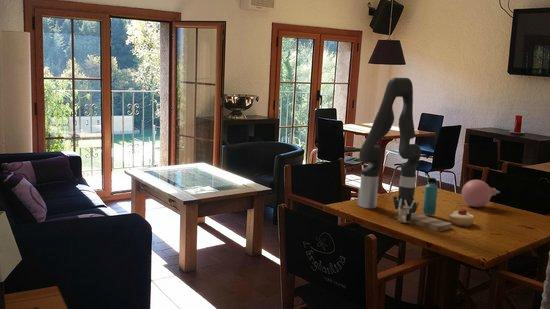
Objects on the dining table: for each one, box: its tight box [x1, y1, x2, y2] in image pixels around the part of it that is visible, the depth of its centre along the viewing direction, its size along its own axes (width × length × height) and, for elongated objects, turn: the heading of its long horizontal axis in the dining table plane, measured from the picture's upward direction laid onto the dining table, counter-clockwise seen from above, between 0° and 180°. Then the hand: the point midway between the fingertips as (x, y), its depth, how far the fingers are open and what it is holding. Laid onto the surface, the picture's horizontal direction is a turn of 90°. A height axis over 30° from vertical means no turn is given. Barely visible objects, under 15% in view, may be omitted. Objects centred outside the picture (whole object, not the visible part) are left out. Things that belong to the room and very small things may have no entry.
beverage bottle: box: [422, 177, 438, 216], centre depth 270 cm, size 6×7×20 cm
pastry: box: [448, 206, 475, 228], centre depth 259 cm, size 12×12×9 cm
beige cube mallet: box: [397, 207, 417, 223], centre depth 258 cm, size 4×10×6 cm, turn 129°
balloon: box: [461, 179, 501, 208], centre depth 294 cm, size 15×20×15 cm
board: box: [393, 212, 453, 233], centre depth 258 cm, size 26×10×2 cm, turn 39°
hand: (404, 219), depth 256 cm, fingers closed on beige cube mallet, 4 cm apart
